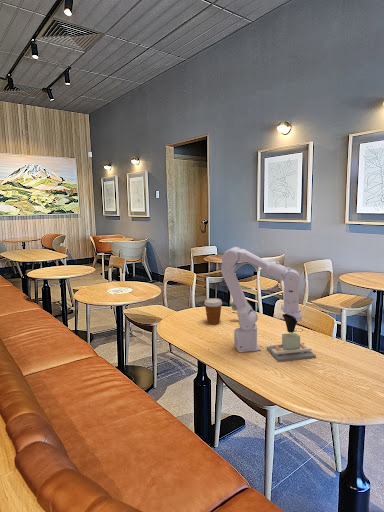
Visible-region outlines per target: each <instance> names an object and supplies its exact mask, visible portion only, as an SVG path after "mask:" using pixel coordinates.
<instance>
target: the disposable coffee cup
mask: <svg viewBox="0 0 384 512" xmlns="http://www.w3.org/2000/svg"><path fill="white" fill-rule="evenodd" d="M203 304H204V307H205V312H206V313H205V314H206V321H207V324H209V325H214V326H215V325H218V324H221V323H220V322H221V312H222V311H221V310H222V305H223V302H222V299H220V298H214V297H213V298H211V297H210V298H207V299H205V300H204V303H203Z"/></svg>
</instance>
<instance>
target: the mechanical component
mask: <svg viewBox="0 0 384 512" xmlns="http://www.w3.org/2000/svg"><path fill="white" fill-rule="evenodd" d="M248 304H249V305H250V306H251V303H250V302H248ZM229 307H231V309H232V311H234V312H236V311H237V307H236V305H235V303H234V301H232V302H230V303H229ZM237 318H238V317H237ZM238 321H239V318H238Z"/></svg>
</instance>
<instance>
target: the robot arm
mask: <svg viewBox="0 0 384 512" xmlns="http://www.w3.org/2000/svg"><path fill="white" fill-rule="evenodd" d="M238 263H239V264H241V263H250V264H252V265H254V266H256V267H259V268H261V269H264V270H265V272H266V274H267V275H269V276H271V277H273V278H274V279H277V280H280V281H281V282H282V281H283V283H284V289H283V304H281V307H280V308H281V310H282V311H283V313H284V314H282V317H283V320H284V321H285V326H286V330H287V333H295V329H296V326H297V325H298V324H297V323H298V322H302V320H303V315H301V312H302V309H300V308H299V305H300V304H299V302H300V301H299V300H300V299H299V298H300V289H299V288H300V285H299V282H300V278H301V277H300V273H299V272H298V270H296V269H295V268H291V267H290V266H288V267H287V266H284V265H282V264H280V262H279V260H278V261H277V260H276V261H267V260H265V259H263V258H261V257H259V256H258V255H256V254H254V253H252V252H250V251H248V250H247V249H244V248H241V247H240V246H232V247H231V248H229V249H227V250H225V251H224V253H223V254H222V256H221V268H220V271H221V275H222V277H223V279H224V283H225V285H226V286H227V288H228V291H229V294H230V296H231V298H232V300H233V302H234V303H235V305H234V306H235V307H237V314H236V315H237V318H239V320H238V325H239V327H237V328H235V329H234V332H233V335H234V336H233V338H234V340H233V342H234V343H233V346H234V348H236V351H238V353H243V352H244V353H245V352H255V351H261V348H260V346H259V345H258V325H257V324H256V323H257V321H258V320H259V319H258V318H259V317H258V313H257V312H256V311H255V310H254V309H253V307H252V305H251V304H250V305H249V304H248V303H249V302H248V300H247V298H246V296H245V294H244V291H243V288H242V286H241V284H240V281H239V280H238V277H237V275H236V272H235V269H236V267H237V265H238Z"/></svg>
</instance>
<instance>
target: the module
mask: <svg viewBox="0 0 384 512" xmlns="http://www.w3.org/2000/svg"><path fill="white" fill-rule="evenodd" d="M300 342H301V336H300V335H299V334H298V333H297V332H291V333H289V332H287V333H282V335H281V344H282V348H283V349H284V350H294V349H300Z"/></svg>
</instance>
